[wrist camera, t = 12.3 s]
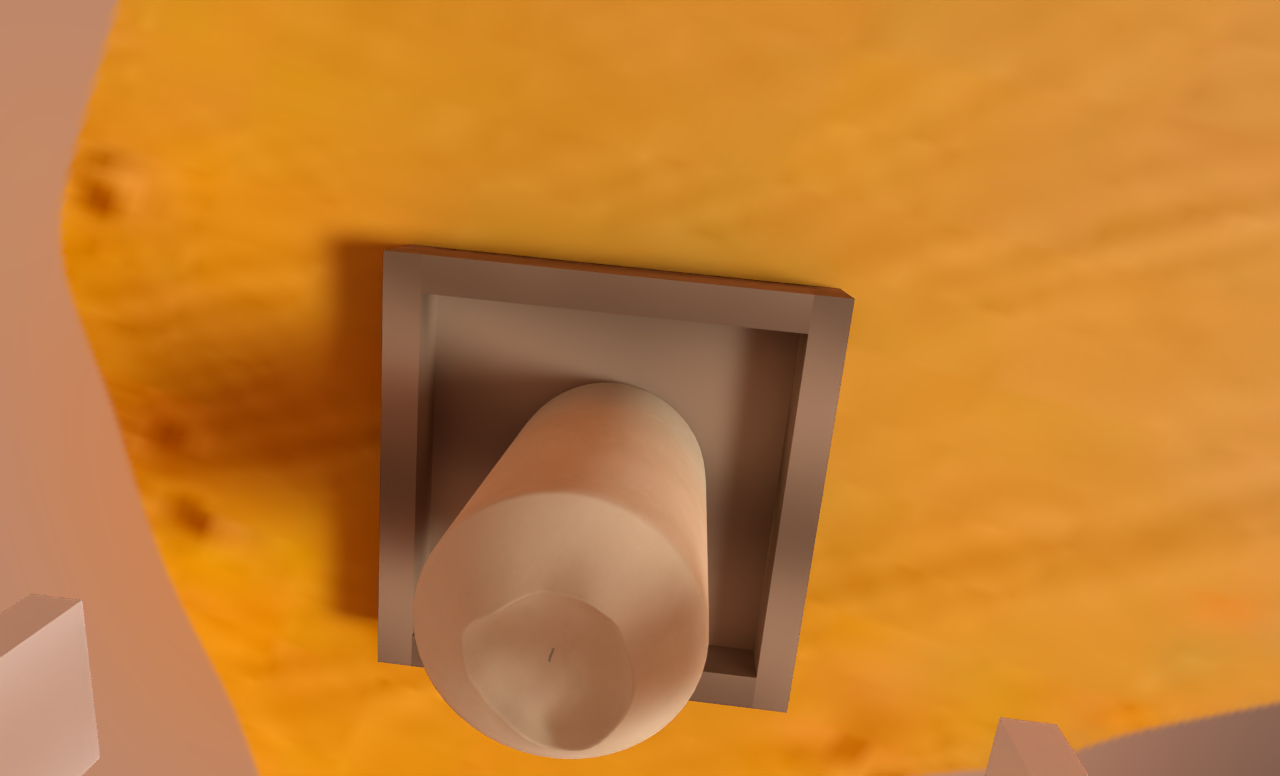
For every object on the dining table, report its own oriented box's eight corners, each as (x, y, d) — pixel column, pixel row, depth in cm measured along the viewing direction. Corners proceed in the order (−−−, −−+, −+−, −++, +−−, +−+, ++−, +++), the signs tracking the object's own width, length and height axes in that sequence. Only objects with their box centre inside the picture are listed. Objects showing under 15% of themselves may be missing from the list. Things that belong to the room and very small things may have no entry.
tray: (410, 244, 22) (383, 250, 20) (840, 289, 22) (854, 299, 20) (401, 625, 25) (377, 661, 23) (779, 671, 25) (786, 712, 23)
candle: (477, 480, 23) (319, 686, 14) (596, 339, 22) (515, 455, 12) (622, 595, 24) (569, 872, 14) (745, 464, 23) (781, 670, 13)
